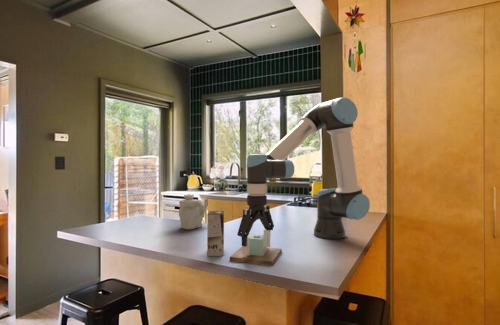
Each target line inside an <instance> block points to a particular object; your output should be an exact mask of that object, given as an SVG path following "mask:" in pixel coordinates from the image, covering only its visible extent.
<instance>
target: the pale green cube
mask: <svg viewBox="0 0 500 325" xmlns="http://www.w3.org/2000/svg"><path fill="white" fill-rule="evenodd" d="M248 237H249V255H257V256H263V255H264V254H265V253H266V252H267V248H268V247H267V236H266V235H264V234H263V235H262V234H249V235H248Z"/></svg>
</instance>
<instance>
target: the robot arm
mask: <svg viewBox="0 0 500 325" xmlns="http://www.w3.org/2000/svg"><path fill="white" fill-rule="evenodd" d="M358 115H359V114H358V107H357V106H356V104H355V103H354V101H352V99H350V98H348V97H337V98H334V99H331V100H328V101H323V102H319V103H318V104H316V105H315V106H313V107H312V108H311V109H310V110H308V111H307V112H306V113H305V114H304V115H303V116H302V117H301V118H300V119H299V123H298V124H297V125H296V126H294V128H292V129H291V130H290V131H289V132H288V133H287V134H286V135H285V136H284V137H283V138H282V139H281V140H280V141H278V142H277V143H276V145H275V146H274V147H272V148H271V149H270V150H269V151H268V152H267V153H266V154H265V153H264V154H262V153H261V154H259V153H258V154H257V153H256V154H254V153H253V154H249V155H247V159H246V160H247V161H246V185H247V186H246V188H247V189H246V193H247V195H246V204H247V206H249V207H248V209H247V208H243V210H242V216H241V220H240V223H239V227H238V230H237V236H239V237H241V247H242V254H243V255H247V256H248V255H249V237H248V236H250V232H251V230H252V228H253V226H254V223H255V222H256V221H257V220H260V223H261V224H262V226H263V228H264V229H263V235H266V236H267V248H271V231H273V230H274V226H275V225H274V221H273V218H272V214H271V210H270V205H267V203H268V201H267V200H268V198H267V193H268V192H267V191H268V188H267V186H268V183H267V182H268V181H267V180H271V179H272V180H275V179H277V180H278V179H279V180H280V179H281V180H282V179H283V180H286V179H290V178H292V177H293V176H294V174H295V164H294V163H293V161H292V160H290V159H287V158H288V157H289V156H291V154H292V153H293V152H294V151H295V150H296V149H297V148H299V147H300V145H302V143H303V142H305V141H306V140H307V138H308V137H310V136H311V135H314V134H316V133H317V132H318V131H320V130H322V129H325V130H326V133H328V134H329V135H330V140H331V147H332V148H331V149H332V155H333V163H334V168H335V176H336V182H337V187H336V188H323V189H318V191H317V196H316V204H317V205H316V208H317V217H316V218H317V219H316V223H315V225H314V228H313V236H314V237H317V238H321V239H329V240H330V239H331V240H337V239H338V240H339V239H344V238H346V233H347V232H346V230H345V229H346V228H345V226H344V223H343V218H344V219H349V220H351V221H352V220H355V221H360V220H362V219H364V217H366V216H367V214H368V213H369V210H370V206H371V202H370V198H369V197H368V196H367V195H366V194H364V193H363V189H362V186H360V185H359V184H358V176H357V170H356V162H355V155H354V150H353V149H354V148H353V139H352V133H351V131H352V130H353V129H354V123H355V121H356V120H357V118H358Z"/></svg>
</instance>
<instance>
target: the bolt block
mask: <svg viewBox="0 0 500 325" xmlns="http://www.w3.org/2000/svg"><path fill="white" fill-rule="evenodd" d="M282 253H283V251H282V248H279V247H277V248H276V247H267V252H266V253H265V254H264V255H263V256H257V255H248V256H247V255H243V254H242V246H241V247H240V248H239V249H238V250H236V251H235V252H234V253H233V254H232V255H230V256H229V262H236V263H243V264H245V263H246V264H255V265H256V264H257V265H263V266H264V265H265V266H272V267H273V266H274V264H276V262H277V260H278V259H279V257H280V256H281V254H282Z"/></svg>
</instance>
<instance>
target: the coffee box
mask: <svg viewBox="0 0 500 325" xmlns="http://www.w3.org/2000/svg"><path fill="white" fill-rule="evenodd" d="M224 213H225V211H224V210H209V211H208V212H207V214H206V217H207V218H206V219H207V222H206V223H207V226H206V227H207V232H206V234H207V238H206V239H207V240H206V242H207V244H206V245H207V246H206V247H207V249H206V250H207V252H206V253H207V257H222V256H224V247H225V246H224V245H225V244H224V243H225V214H224Z"/></svg>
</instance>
